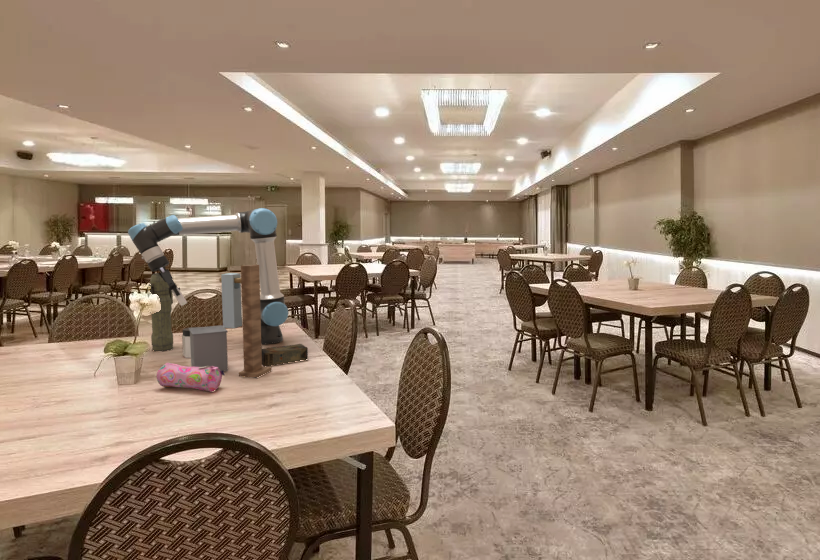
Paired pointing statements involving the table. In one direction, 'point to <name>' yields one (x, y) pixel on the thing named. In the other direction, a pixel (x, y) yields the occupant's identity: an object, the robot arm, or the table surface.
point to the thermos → (161, 315)
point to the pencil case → (190, 377)
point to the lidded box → (209, 347)
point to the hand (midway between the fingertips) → (183, 303)
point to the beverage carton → (284, 354)
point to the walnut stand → (251, 321)
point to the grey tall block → (231, 301)
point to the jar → (186, 342)
